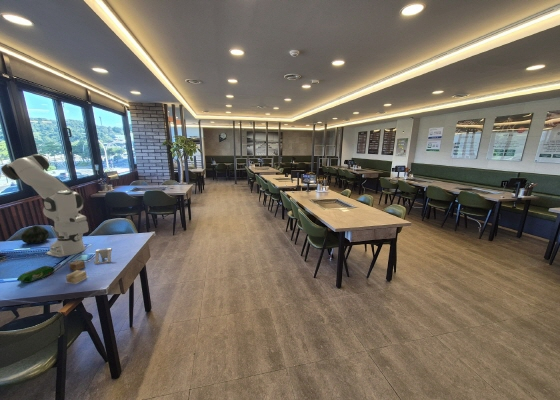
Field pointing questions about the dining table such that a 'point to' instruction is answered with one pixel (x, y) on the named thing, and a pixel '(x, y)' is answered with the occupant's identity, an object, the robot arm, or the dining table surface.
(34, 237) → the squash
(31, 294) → the dining table surface
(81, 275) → the oak base block
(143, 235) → the dining table surface
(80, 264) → the walnut cube
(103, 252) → the portable electronic device stand
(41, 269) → the snack package
